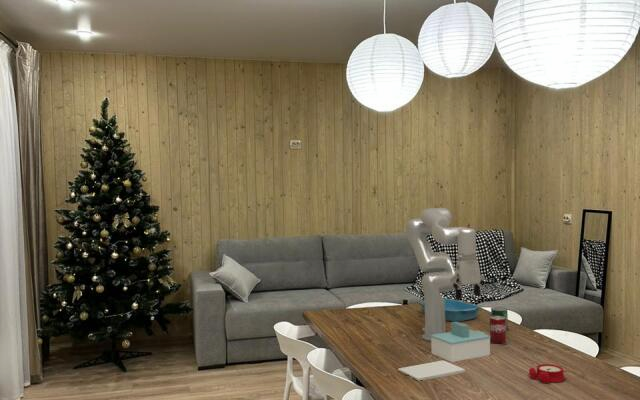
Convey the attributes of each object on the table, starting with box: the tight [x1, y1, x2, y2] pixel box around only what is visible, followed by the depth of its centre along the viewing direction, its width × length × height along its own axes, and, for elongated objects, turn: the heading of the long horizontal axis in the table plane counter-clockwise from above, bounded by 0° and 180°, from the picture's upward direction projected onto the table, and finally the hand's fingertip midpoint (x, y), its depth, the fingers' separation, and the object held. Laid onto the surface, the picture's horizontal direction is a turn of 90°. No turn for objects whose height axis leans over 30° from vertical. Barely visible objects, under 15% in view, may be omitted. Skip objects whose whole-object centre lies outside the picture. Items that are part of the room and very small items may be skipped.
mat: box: [397, 359, 466, 382], centre depth 227 cm, size 14×22×1 cm, turn 115°
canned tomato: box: [490, 306, 509, 333], centre depth 287 cm, size 8×8×11 cm
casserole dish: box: [420, 298, 480, 322], centre depth 322 cm, size 37×22×7 cm, turn 26°
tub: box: [430, 337, 491, 363], centre depth 246 cm, size 20×14×8 cm
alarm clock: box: [527, 363, 570, 384], centre depth 215 cm, size 10×6×15 cm
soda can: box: [489, 316, 508, 346], centre depth 264 cm, size 7×7×12 cm
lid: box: [430, 321, 490, 345], centre depth 247 cm, size 22×14×7 cm, turn 115°
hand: (468, 297), depth 247 cm, fingers open, 9 cm apart
